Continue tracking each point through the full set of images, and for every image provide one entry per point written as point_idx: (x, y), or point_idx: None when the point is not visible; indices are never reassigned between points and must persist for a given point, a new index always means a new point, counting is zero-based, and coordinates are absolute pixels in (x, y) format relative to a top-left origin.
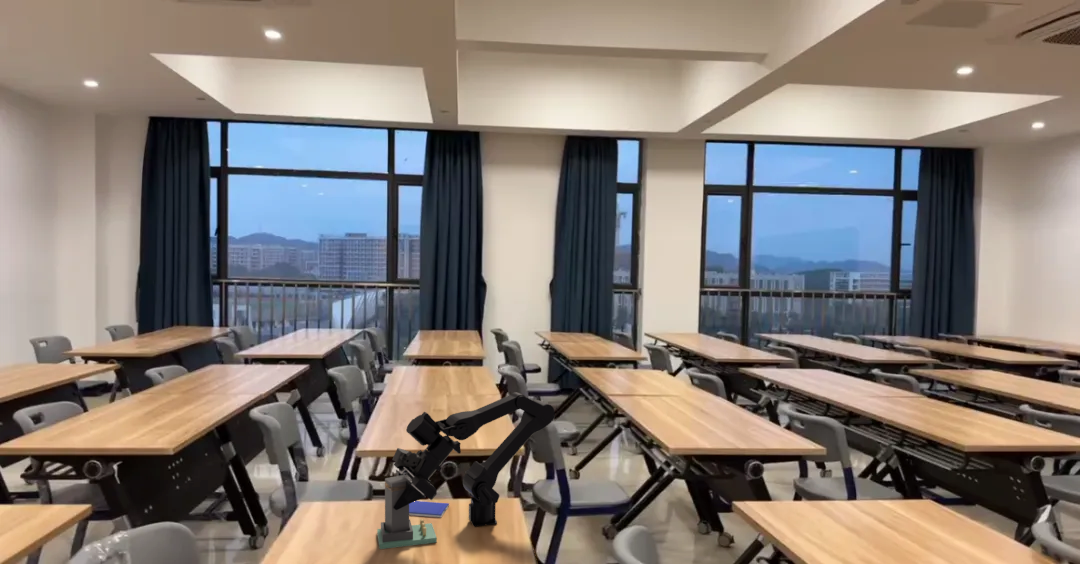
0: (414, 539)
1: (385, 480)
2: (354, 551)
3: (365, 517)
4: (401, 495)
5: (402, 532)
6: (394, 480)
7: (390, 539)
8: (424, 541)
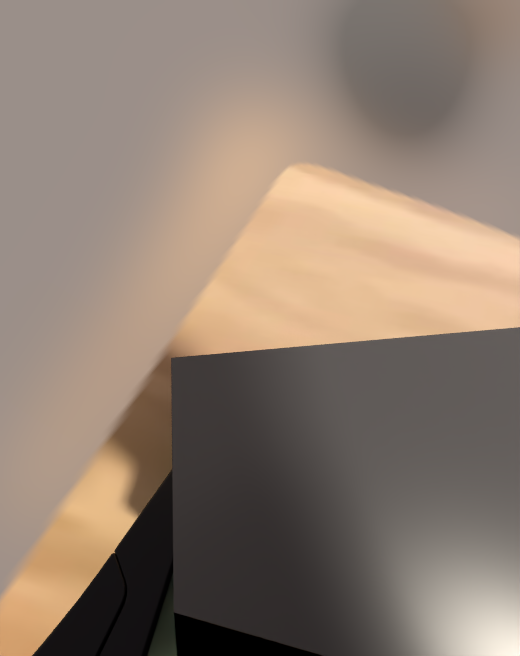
0: None
1: (500, 339)
2: (225, 307)
3: None
4: (159, 556)
5: None
6: (400, 495)
7: None
8: None
